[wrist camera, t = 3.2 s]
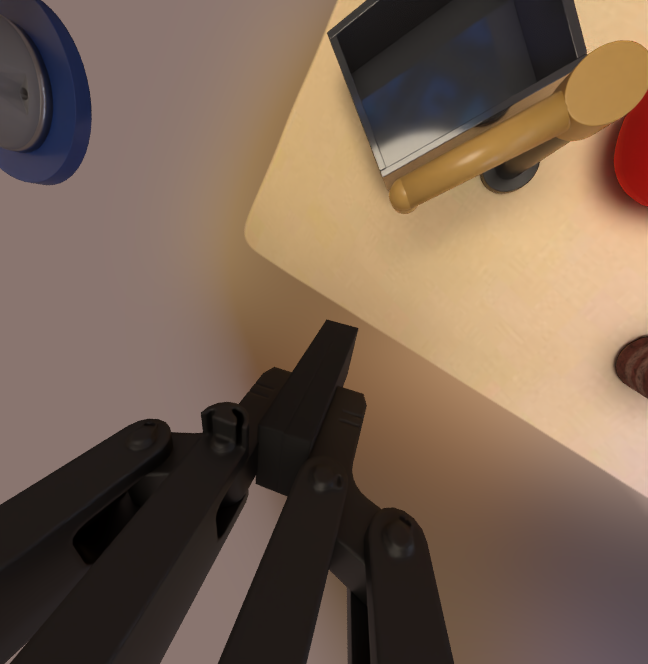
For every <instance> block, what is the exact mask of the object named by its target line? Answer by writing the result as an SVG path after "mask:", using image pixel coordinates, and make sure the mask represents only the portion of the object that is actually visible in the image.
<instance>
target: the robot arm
mask: <svg viewBox="0 0 648 664" xmlns="http://www.w3.org/2000/svg"><path fill="white" fill-rule="evenodd" d="M52 114H53V98H52V90H51V84H50V80H49V76H48V72H47V69H46V66H45V63H44V61H43V59H42V56H41V54H40V52H39V50H38V49H37V47H36V45H35V44H34V42H33V41H32V39H31V38H30V37H29V35H28V34H27V33H26V32H25V31H24V30H23V29H22V28H21V27H20V26H19V25H17V24H16V23H14V22H13V21H11V20H9V19H7V18H6V17H4V16H2V15H0V147H2V148H4V149H7V150H12V151H16V152H20V153H29V152H32V151H34V150H36V149H38V148H39V147H40V146H41V145H42V144H43V142H44V141H45V139H46V137H47V135H48V133H49V130H50V126H51V122H52ZM357 332H358V328H356V327H352V326H349V325H345V324H341V323H338V322H334V321H330V320H326V321H325V323H324V325H323V326H322V328H321V329H320V330H319V332H318V334H317V335H316V337H315V338H314V340H313V341H312V343H311V344H310V346H309V348H308V349H307V350H306V352H305V353H304V355H303V356H302V358H301V359H300V361H299V363H298V364H297V366H296V367H295V369H294V370H293V372H289V371H286V370H282V369H279V368H276V367H274V368H272V369H270V370H268V371H266V372H265V373H263V374H262V375H261V377H260V378H259V379H258V380H257V382H256V384H254V386H253V387H252V388H251V389H250V391H249V392H248V393H247V394H246V396H245V397H244V398H243V399H242V400H241V402H240V403H239V404H236V403H231V402H223V403H217V404H214V405H212V406H209V407H207V408H206V409H205V410H204V411H203V412H201V418H202V427H203V433H175V432H171V430H170V427H169V426H168V424H166V422H164V421H161V420H159V419H146V420H141V421H137V422H135V423H133V424H131V425H129V426H127V427H125V428H124V429H122V430H120V431H119V432H117V433H116V434H114V435H112V436H111V437H109V438H108V439H106V440H104V441H103V442H101V443H100V444H98V445H96V446H95V447H93V448H91V449H90V450H88V451H87V452H85V453H83V454H82V455H80V456H79V457H77V458H75V459H74V460H72V461H71V462H69V463H67V464H66V465H64V466H62V467H61V468H59V469H58V470H56V471H54V472H53V473H51V474H49V475H48V476H46V477H45V478H43V479H42V480H40V481H38V482H37V483H35V484H33V485H32V486H30V487H29V488H27V489H25V490H24V491H22V492H20V493H19V494H17V495H16V496H14V497H12V498H11V499H9V500H7V501H6V502H4V503H3V504H1V505H0V664H5V663H6V662H7V661H8V660H9V659H10V658H11V657H12V656H13V655H14V654H15V653H16V652H17V651H18V650H19V649H20V648H22V647H23V646H24V645H25V644H26V643H27V642H28V643H27V644H26V645H25V646H24V647H23V649H22V650H21V651H20V652H19V653H18V655H17V656H16V657H15V658H14V659H13V661H12V662H11V663H10V664H160V662H161V660H162V659H163V657H164V655H165V653H166V651H167V649H168V647H169V645H170V644H171V642H172V640H173V638H174V636H175V634H176V632H177V630H178V629H179V627H180V625H181V623H182V621H183V619H184V617H185V615H186V614H187V612H188V610H189V608H190V606H191V604H192V602H193V601H194V599H195V597H196V595H197V593H198V591H199V589H200V587H201V586H202V584H203V582H204V580H205V578H206V576H207V574H208V572H209V570H210V569H211V567H212V565H213V563H214V561H215V559H216V557H217V556H218V554H219V552H220V550H221V548H222V546H223V544H224V542H225V540H226V539H227V537H228V535H229V533H230V531H231V529H232V527H233V526H234V523H235V522H236V520H237V518H238V516H239V514H240V512H241V510H242V509H243V507H244V505H245V503H246V500H247V497H248V488H249V487H250V485H251V483H252V481H253V479H254V477H255V476H256V484H258V485H260V486H263V487H265V488H268V489H270V490H273V491H275V492H278V493H280V494H283V495H285V496H288V497H287V500H286V502H285V505H284V507H283V509H282V512H281V514H280V517H279V519H278V521H277V524H276V526H275V529H274V531H273V533H272V536H271V538H270V540H269V543H268V545H267V548H266V550H265V553H264V555H263V557H262V559H261V562H260V564H259V567H258V569H257V571H256V574H255V576H254V578H253V581H252V583H251V586H250V588H249V590H248V593H247V595H246V598H245V600H244V602H243V605H242V607H241V610H240V612H239V614H238V617H237V619H236V621H235V624H234V627H233V629H232V631H231V633H230V636H229V638H228V641H227V643H226V645H225V648H224V650H223V653H222V655H221V657H220V660H219V662H218V664H306V663H307V659H308V654H309V650H310V646H311V642H312V638H313V633H314V629H315V625H316V621H317V616H318V612H319V608H320V604H321V600H322V595H323V591H324V587H325V583H326V579H327V575H328V570H330V571H331V572H332V573H333V574H334V575H335V576H336V577H337V578H338V579H339V580H340V581H341V582H343V584H344V585H345V586H346V587H347V630H348V631H347V639H348V664H454V661H453V656H452V652H451V647H450V643H449V638H448V634H447V630H446V625H445V621H444V616H443V612H442V607H441V603H440V598H439V594H438V589H437V585H436V580H435V576H434V571H433V567H432V562H431V558H430V553H429V549H428V544H427V541H426V538H425V536H424V533H423V530H422V529H421V527H420V526H419V525H418V523H417V522H416V521H415V519H414V518H412V517H411V516H410V515H409V514H407V513H406V512H405V511H402V510H399V509H396V508H383V509H380V508H379V507H378V506H376V505H375V504H374V503H373V502H371V501H370V500H369V499H367V498H366V497H365V496H364V495H363V494H362V493H361V492H360V490H359V489H358V487H357V486H356V484H355V481H354V479H353V474H352V466H353V460H354V457H355V452H356V448H357V444H358V440H359V436H360V431H361V426H362V423H363V418H364V415H365V410H366V406H367V405H366V401H365V398H364V394H362V393H359V392H355V391H352V390H349V389H346V388H343V385H344V382H345V380H346V377H347V374H348V370H349V365H350V361H351V357H352V353H353V349H354V344H355V340H356V336H357Z"/></svg>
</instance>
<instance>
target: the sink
mask: <svg viewBox="0 0 648 664" xmlns="http://www.w3.org/2000/svg"><path fill="white" fill-rule="evenodd" d="M327 34H328V37H329V39H330V42H331V45H332V47H333V50H334V53H335V55H336V58H337V60H338V63H339V66H340V68H341V71H342V73H343V76H344V79H345V81H346V84H347V87H348V89H349V92H350V94H351V97H352V100H353V102H354V105H355V107H356V110H357V113H358V115H359V118H360V121H361V123H362V126H363V128H364V131H365V134H366V136H367V139H368V141H369V144H370V147H371V149H372V152H373V155H374V157H375V160H376V162H377V165H378V168H379V170H380V173H381V175H382V178H383V180H384V183H385V185H386V187H387V190H388V191H389V190H390V188H391V186H392V185H393V183H394V182H395V181H396V180H397V179H399V178H400V177H402V176H404V175H406V174H408V173H410V172H411V171H413V170H415V169H417V168H419V167H421V166H422V165H424V164H426V163H428V162H430V161H432V160H433V159H435V158H437V157H439V156H441V155H443V154H444V153H446V152H448V151H450V150H452V149H454V148H455V147H457V146H459V145H461V144H463V143H465V142H466V141H468V140H470V139H472V138H474V137H476V136H477V135H479V134H481V133H483V132H485V131H486V130H488V129H490V128H492V127H494V126H496V125H497V124H499V123H501V122H503V121H505V120H507V119H508V118H510V117H512V116H514V115H516V114H518V113H519V112H521V111H523V110H525V109H527V108H529V107H530V106H532V105H534V104H536V103H538V102H540V101H541V100H543V99H545V98H547V97H549V96H551V95H552V93H553V92H554V91H555V89H556V88H557V87H558V86H559V84H560V83H561V82H562V81H563V80H564V79H565V78H566V77H567V76H568V75H569V74H570V72H571V71H572V70H573V69H574V68H575V67H576V66H577V65H578V64H579V63H580V62H581V60H583V59H584V58H585V57H586V56H587V54H586V53H587V50H586V46H585V43H584V39H583V35H582V31H581V27H580V23H579V19H578V15H577V12H576V8H575V4H574V0H366V1H365V2H364V3H363V4H361V5H360V6H359V7H358V8H357V9H355V10H354V11H353V12H352V13H350V14H349V15H348V16H347V17H346V18H344V19H343V20H342V21H341V22H339V23H338V24H337V25H336V26H335V27H333V28H332V29H331V30H330V31H328V32H327Z"/></svg>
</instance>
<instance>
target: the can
mask: <svg viewBox="0 0 648 664" xmlns="http://www.w3.org/2000/svg"><path fill="white" fill-rule="evenodd" d="M616 370H617V374H618V377H619V378H620V379H621V380H622V382H623V383H625V384H626V385H628V386H629V387H631V388H632V389H634V390H635V391H637V392H638V393H640V394H641V395H643V396H645V397H646V398H648V337H644V338H641V339H638V340H636V341H634V342H632V343H630V344H629V345H628V346H627V347H625V348H624V349H623V350H622V351H621V353H620V355H619V356H618V359H617V364H616Z"/></svg>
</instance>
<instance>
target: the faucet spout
mask: <svg viewBox="0 0 648 664" xmlns="http://www.w3.org/2000/svg"><path fill="white" fill-rule="evenodd" d="M647 90H648V51H647V50H646V48H644V47H643V46H642V45H640V44H638V43H636V42H633V41H615V42H611V43H608V44H605V45H603V46H601V47H599V48H597V49H595V50H594V51H592V52H591V53H589V54H588V55H587V56H586V57H585V58H584V59H583V60H581V62H580V63H579V64H578V65H577V66H576V67H575V68H574V69H573V70H572V71H571V72H570V74H569V75H568V76H567V77H566V78H565V79H564V80H563V81H562V82H561V83H560V84H559V86H558V87H557V88H556V89H555V91H554V92H553V93H552V95H551V96H549V97H547V98H545V99H543V100H541V101H540V102H538V103H536V104H534V105H532V106H530V107H529V108H527V109H525V110H523V111H521V112H519V113H518V114H516V115H514V116H512V117H510V118H508V119H507V120H505V121H503V122H501V123H499V124H497V125H496V126H494V127H492V128H490V129H488V130H486V131H485V132H483V133H481V134H479V135H477V136H476V137H474V138H472V139H470V140H468V141H466V142H465V143H463V144H461V145H459V146H457V147H455V148H454V149H452V150H450V151H448V152H446V153H444V154H443V155H441V156H439V157H437V158H435V159H433V160H432V161H430V162H428V163H426V164H424V165H422V166H421V167H419V168H417V169H415V170H413V171H411V172H410V173H408V174H406V175H404V176H402V177H400V178H399V179H397V180H396V181H395V182H394V183H393V185H392V186H391V188H390V192H389V199H390V202H391V204H392V206H393V208H394V209H395V211H397V212H398V213H401V214H408V213H410V212H412V211H414V210H415V209H416V208H417V206H418V205H420V204H422V203H424V202H426V201H428V200H430V199H432V198H434V197H436V196H438V195H440V194H442V193H444V192H446V191H448V190H450V189H452V188H454V187H456V186H458V185H460V184H462V183H464V182H466V181H468V180H470V179H472V178H474V177H476V176H478V175H480V174H482V173H484V172H486V171H488V170H490V169H492V168H494V167H496V166H498V165H500V164H502V163H504V162H506V161H508V160H510V159H512V158H514V157H516V156H518V155H520V154H522V153H524V152H526V151H528V150H530V149H532V148H534V147H536V146H538V145H540V144H542V143H544V142H546V141H548V140H550V139H552V138H554V137H557V138H559V139H562V140H566V141H577V140H582V139H585V138H588V137H590V136H592V135H594V134H595V133H597V132H599V131H600V130H602V129H604V128H605V127H607V126H609V125H610V124H612V123H614V122H615V121H617V120H618V119H620V118H622V117H623V116H625V115H626V114H627V113H629V112H630V111H631V110H632V109H633V108H634V107H635V106H636V105H637V104H638V103H639V102H640V101H641V99H642V98H643V96H644V95H645V93H646V91H647Z"/></svg>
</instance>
